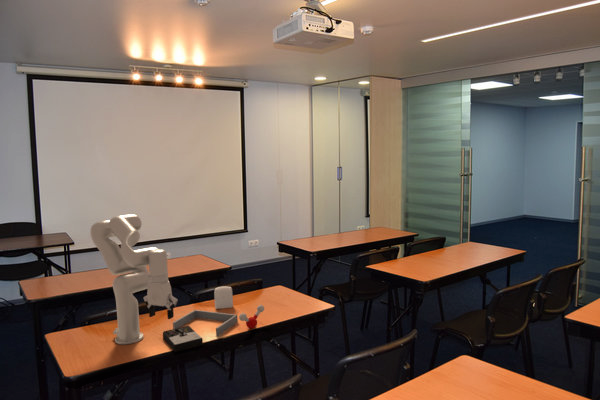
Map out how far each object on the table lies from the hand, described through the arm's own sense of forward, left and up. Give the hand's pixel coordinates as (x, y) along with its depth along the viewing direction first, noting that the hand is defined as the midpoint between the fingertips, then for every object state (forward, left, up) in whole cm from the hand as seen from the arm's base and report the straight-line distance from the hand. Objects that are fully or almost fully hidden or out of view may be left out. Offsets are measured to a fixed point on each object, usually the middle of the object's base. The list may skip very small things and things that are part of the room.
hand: (161, 317), depth 187 cm
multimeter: (0, +14, -17) cm, 22 cm away
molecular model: (+24, +38, -17) cm, 48 cm away
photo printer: (-6, +61, -17) cm, 64 cm away
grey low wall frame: (0, +33, -17) cm, 37 cm away
